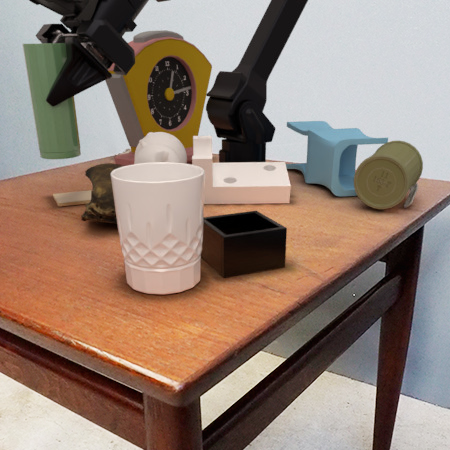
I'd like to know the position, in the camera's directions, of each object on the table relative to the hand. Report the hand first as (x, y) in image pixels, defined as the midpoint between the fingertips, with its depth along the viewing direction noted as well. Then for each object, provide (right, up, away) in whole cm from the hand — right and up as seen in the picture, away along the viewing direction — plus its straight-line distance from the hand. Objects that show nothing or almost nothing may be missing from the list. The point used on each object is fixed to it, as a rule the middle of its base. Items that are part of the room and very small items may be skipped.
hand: (42, 101), depth 66 cm
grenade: (+42, -10, +2) cm, 43 cm away
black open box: (+24, -20, -12) cm, 34 cm away
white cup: (+17, -22, -16) cm, 32 cm away
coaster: (+1, -10, +10) cm, 14 cm away
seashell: (+9, -14, +2) cm, 17 cm away
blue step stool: (+41, -6, +9) cm, 42 cm away
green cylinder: (+1, -6, +3) cm, 7 cm away
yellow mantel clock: (+11, +1, +34) cm, 36 cm away
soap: (+4, +4, +42) cm, 42 cm away
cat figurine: (+12, -7, +16) cm, 21 cm away
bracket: (+25, -10, +10) cm, 28 cm away
